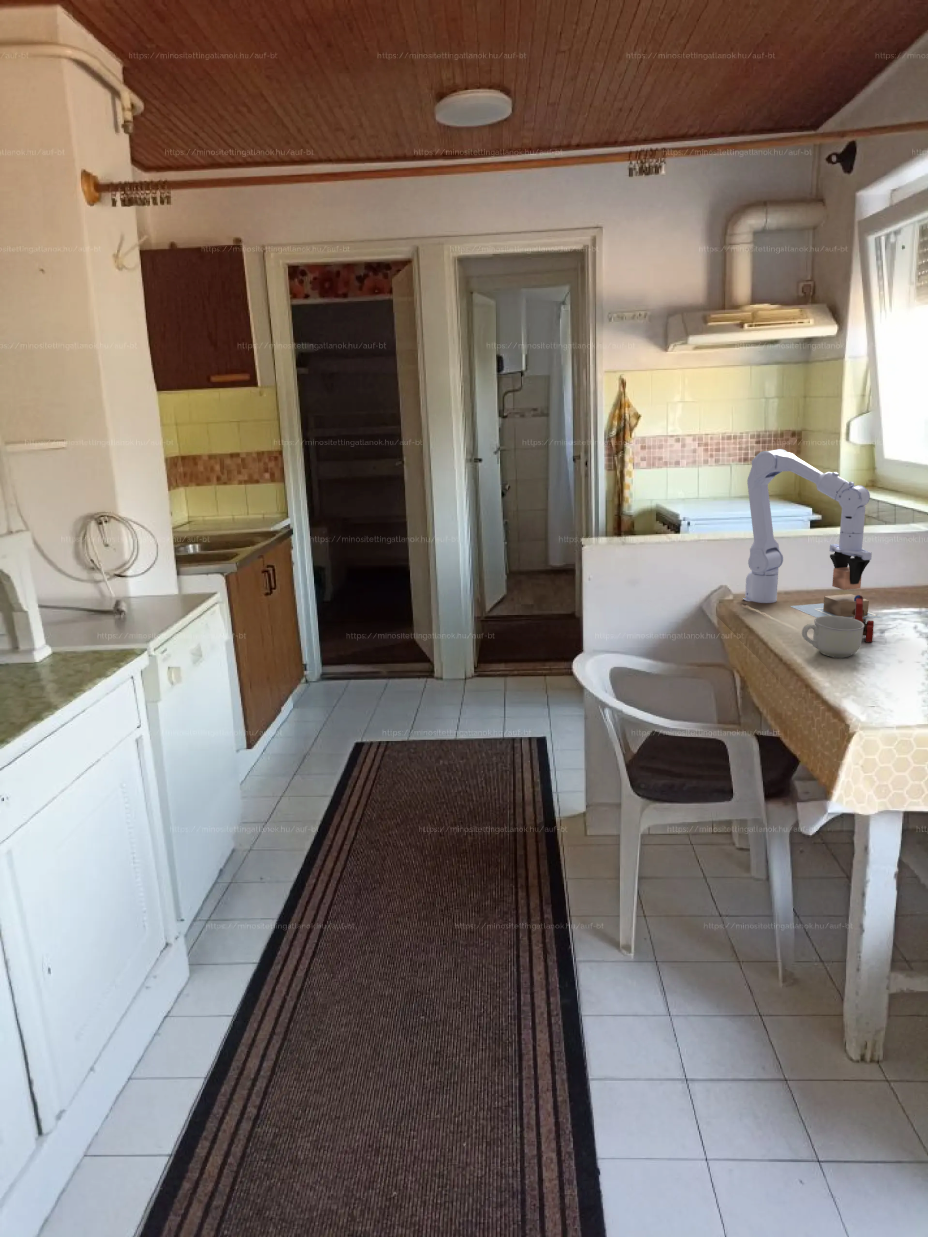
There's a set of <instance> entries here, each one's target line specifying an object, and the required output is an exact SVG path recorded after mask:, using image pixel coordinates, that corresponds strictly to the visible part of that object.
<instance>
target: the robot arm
mask: <svg viewBox="0 0 928 1237" xmlns="http://www.w3.org/2000/svg"><path fill="white" fill-rule="evenodd" d="M783 472H791V473H793V474H796V475H797V476H800V477H801V478H803V479H805V480H807V481H809V482H811V483H814V484H815V486H816V490H817V491H818V492H820V493H821V494H823V495H826V496H827V497H829V498H831V499H832V500H834V501H836V502H838V504H839V506H840V508H841V515H840V526H839V527H840V528H839V539H838V540H839V542H838V543H831V544H829V552H831V554H830V553H829V558H830V560H831V562H832V564H833V569H834V568H843V567H849V569H850V584H859V581H860V578H861V579H862V577H861V575H863V572H864V571H865V569H866V567H867V566H868V565H869V563H870V562H871V560H872V555H873V553H872V552H871V551H869V550H866V549H864V548H863V542H864V541H863V540H864V529H865V520H866V515H865V514H866V505H867V504H868V503H869V502H870V498H871V494H870V492H869V490H868V488H866V487H865V486H864V485H860V484H859V485H855V482H854V481H851V480H850V481H848V480H846V479H845V478H843V477H841V476H839V475H840V473H839V472H836V471H834V472H831V471H827V472H822V471H821V470H819V469H817V468H816V467H814V466H812V465H811V464H809V463H808V462H806V461H804V460H802V459H801V458H800V457H798V456H796V455H795V453H793V452H789V451H787V450H785V449H783V448H777V449H772V450H763V451H760V452H759V453H757V454H756V455H755V456H754V458H753V459H752V460H751V468H750V471H749V474H748V477H747V481H746V482H747V490H748V491H747V492H748V499H749V500H748V501H749V509H750V516H751V517H750V518H751V524H752V525H751V526H752V534H753V535H752V536H753V543H752V544H751V547H750V548H749V553H750V554H749V558H748V563H747V564H748V568H749V569H750V570H751V571H750V572H749V573H748V574H747V575H746V579H745V592H744V593H745V594H744V597H746V598H743V597H742V598H743V599H744V601H746V602H754V603H759V604H760V603H761V604H772V603H776V602H777V600H778V585H779V584H778V583H779V582H778V581H779V568H780V567H781V566H782V565H783V562H784V555H783V553H782V551H781V550H780V545H779V542H777V540H776V539H775V537H774V529H773V521H772V511H771V501H770V492H769V483H771V482H772V481H773V479H774V478H775V477H776V476H777V475H779V474H780V473H783ZM743 599H742V600H743Z"/></svg>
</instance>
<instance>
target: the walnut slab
mask: <svg viewBox="0 0 928 1237" xmlns="http://www.w3.org/2000/svg"><path fill="white" fill-rule="evenodd" d="M855 596H856V595H855V594H851V593H850V594H849V593H847V594H846V593H845V594H835V595H825V596H823V597H824V598H823V599H824V600H823V603H824V608H823V610H824V611H826V612H829V613H831V614H834V615H836V616H843V617H849V616H852V611H853V610H854V609H855V604H856V601H854V598H855ZM869 604H870V600H869V599H866V598H863V610H864V611H865V615H868V612H869Z"/></svg>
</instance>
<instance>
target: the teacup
mask: <svg viewBox="0 0 928 1237" xmlns="http://www.w3.org/2000/svg"><path fill="white" fill-rule="evenodd" d="M863 628H864V624H863V623H862V622H861V621H859V620H856V619H853V618H849V617H843V616H821V617H817V618H816V617H815V618H814V624H813V623H809V624H806V625H804V626H803V628H802V630H801V636H802V638H803V640H805V641H806V642H807V643H809V644H811V645H812V647H813V648H815V649H817V650H818V651H819V652H820V654H822V655H824V656H827V657H831V658H842V659H843V658H848V657H850V656H852V655H854V654H855V653H857V652H858V651H859V650H860V648H861V646H862V641H863ZM811 629H813V636H812V638H810V637H809V636H808V632H809V630H811Z"/></svg>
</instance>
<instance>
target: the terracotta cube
mask: <svg viewBox="0 0 928 1237" xmlns="http://www.w3.org/2000/svg"><path fill="white" fill-rule="evenodd" d="M832 571H833V573H832V587H834V588H837V589H840V590H843V591H848V590H857V589H858V590H859V589H861V587H862V586H861V585H862V578H863V577H862V575H863V574H862V575H861V578H860V581H859V584H850V569H849V566H848V567H843V568H834V567H833V570H832Z"/></svg>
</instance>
